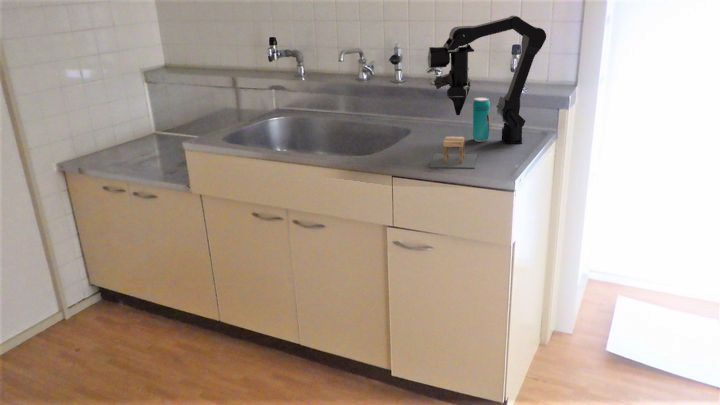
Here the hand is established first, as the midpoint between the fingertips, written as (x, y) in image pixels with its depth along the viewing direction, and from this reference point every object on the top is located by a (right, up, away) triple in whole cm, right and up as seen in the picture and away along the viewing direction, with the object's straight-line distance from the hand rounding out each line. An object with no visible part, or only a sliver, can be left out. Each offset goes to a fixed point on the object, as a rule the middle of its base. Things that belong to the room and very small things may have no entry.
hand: (459, 111), depth 206 cm
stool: (-4, -17, -12) cm, 21 cm away
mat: (-4, -18, -12) cm, 22 cm away
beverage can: (+9, -9, +9) cm, 16 cm away
